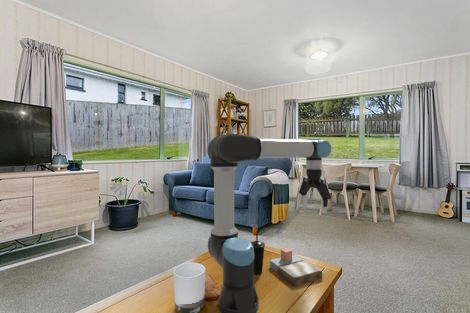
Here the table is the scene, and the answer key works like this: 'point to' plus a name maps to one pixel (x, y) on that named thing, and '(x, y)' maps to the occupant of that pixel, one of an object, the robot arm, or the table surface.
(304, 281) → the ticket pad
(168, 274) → the table surface
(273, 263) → the blue base with cube
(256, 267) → the black tall container
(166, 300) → the table surface
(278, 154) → the robot arm
